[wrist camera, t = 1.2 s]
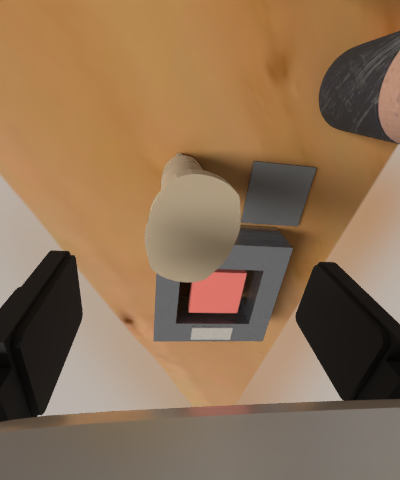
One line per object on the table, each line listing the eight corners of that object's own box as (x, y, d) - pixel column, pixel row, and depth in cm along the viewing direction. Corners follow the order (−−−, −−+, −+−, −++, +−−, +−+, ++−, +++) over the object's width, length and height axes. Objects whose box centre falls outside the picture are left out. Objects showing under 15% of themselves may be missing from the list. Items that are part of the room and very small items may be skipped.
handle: (213, 144, 26) (257, 190, 13) (194, 202, 29) (214, 288, 16) (166, 129, 25) (163, 161, 12) (151, 191, 28) (135, 273, 15)
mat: (253, 160, 27) (254, 161, 27) (314, 167, 28) (316, 167, 28) (241, 221, 30) (241, 222, 30) (296, 224, 31) (297, 226, 31)
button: (193, 265, 29) (193, 271, 28) (244, 267, 30) (246, 273, 29) (188, 305, 32) (188, 312, 31) (235, 306, 33) (237, 313, 32)
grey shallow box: (159, 219, 29) (158, 241, 25) (275, 227, 31) (293, 248, 27) (155, 311, 36) (153, 342, 31) (252, 313, 38) (263, 342, 33)
